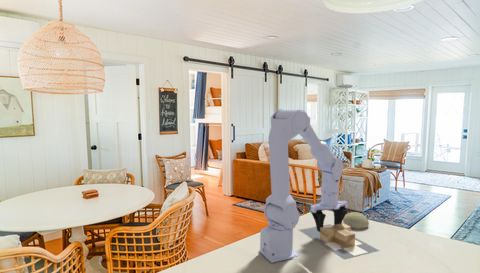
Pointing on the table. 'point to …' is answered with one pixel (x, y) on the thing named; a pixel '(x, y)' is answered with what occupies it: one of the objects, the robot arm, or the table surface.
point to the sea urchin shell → (356, 220)
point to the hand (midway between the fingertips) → (328, 229)
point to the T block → (338, 235)
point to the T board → (343, 252)
